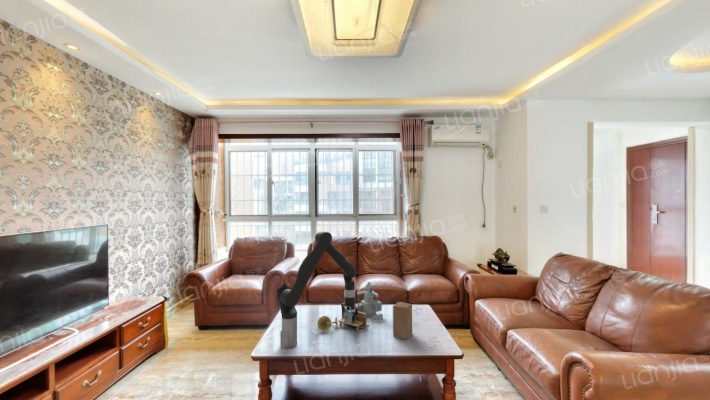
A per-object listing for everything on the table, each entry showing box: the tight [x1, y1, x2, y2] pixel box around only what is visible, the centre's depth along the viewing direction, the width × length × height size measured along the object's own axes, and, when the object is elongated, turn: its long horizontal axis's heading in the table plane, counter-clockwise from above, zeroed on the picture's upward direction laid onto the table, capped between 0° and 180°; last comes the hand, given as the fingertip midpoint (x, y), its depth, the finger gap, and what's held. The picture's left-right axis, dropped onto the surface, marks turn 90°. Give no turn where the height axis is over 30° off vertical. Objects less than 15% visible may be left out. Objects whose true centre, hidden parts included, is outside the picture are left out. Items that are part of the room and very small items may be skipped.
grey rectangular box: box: [344, 310, 356, 323], centre depth 198 cm, size 8×5×6 cm, turn 148°
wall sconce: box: [316, 315, 339, 332], centre depth 193 cm, size 14×10×25 cm
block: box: [392, 301, 413, 340], centre depth 186 cm, size 10×10×20 cm
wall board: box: [338, 310, 370, 332], centre depth 202 cm, size 11×20×10 cm, turn 57°
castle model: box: [354, 281, 384, 321], centre depth 218 cm, size 17×17×25 cm
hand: (349, 319), depth 199 cm, fingers closed on grey rectangular box, 5 cm apart
